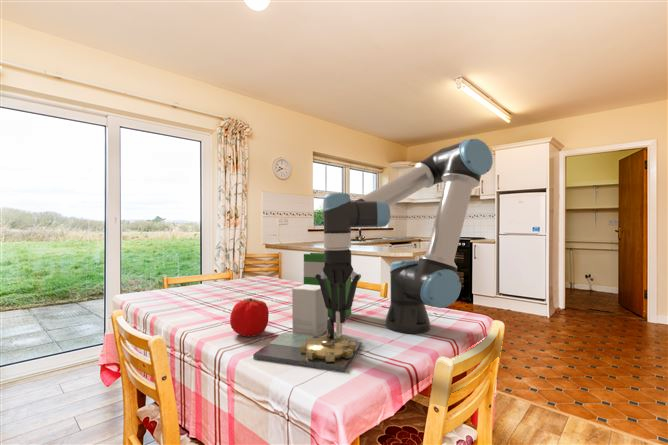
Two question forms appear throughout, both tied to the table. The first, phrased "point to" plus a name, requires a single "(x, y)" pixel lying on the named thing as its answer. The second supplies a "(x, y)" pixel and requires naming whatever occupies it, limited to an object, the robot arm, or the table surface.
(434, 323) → the table surface
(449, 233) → the robot arm
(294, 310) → the supplement box
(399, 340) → the table surface
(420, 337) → the table surface
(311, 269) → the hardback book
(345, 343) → the sprocket
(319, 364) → the plate
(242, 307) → the tomato
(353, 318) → the table surface
